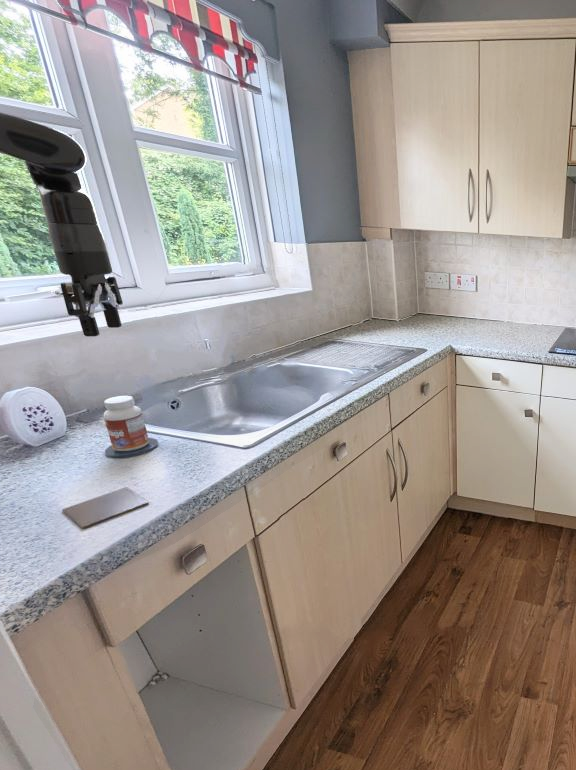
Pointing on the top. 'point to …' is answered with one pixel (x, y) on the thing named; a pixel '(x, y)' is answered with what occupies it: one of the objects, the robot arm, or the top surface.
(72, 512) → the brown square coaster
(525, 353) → the top surface
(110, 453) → the plate
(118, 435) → the pill bottle
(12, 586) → the top surface
